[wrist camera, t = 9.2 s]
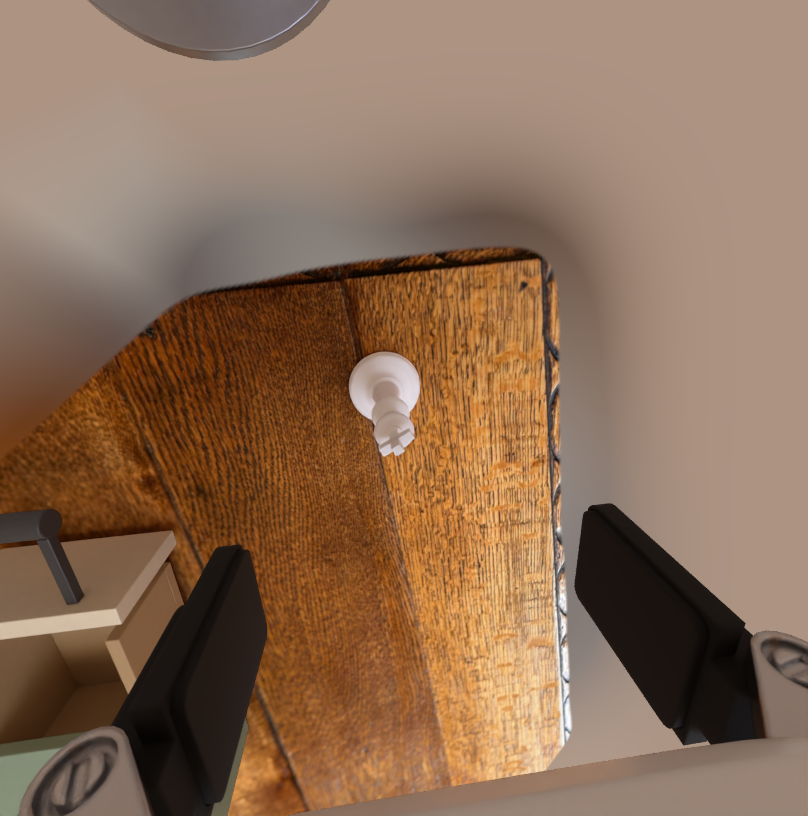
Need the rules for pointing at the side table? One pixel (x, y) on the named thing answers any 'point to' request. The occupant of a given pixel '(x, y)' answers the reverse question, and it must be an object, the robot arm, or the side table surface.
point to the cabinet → (20, 761)
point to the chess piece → (386, 398)
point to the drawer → (76, 623)
